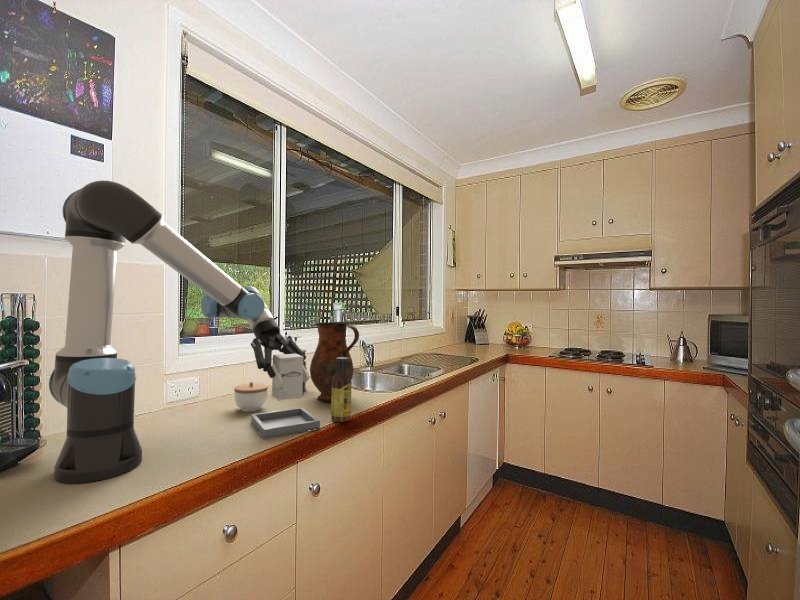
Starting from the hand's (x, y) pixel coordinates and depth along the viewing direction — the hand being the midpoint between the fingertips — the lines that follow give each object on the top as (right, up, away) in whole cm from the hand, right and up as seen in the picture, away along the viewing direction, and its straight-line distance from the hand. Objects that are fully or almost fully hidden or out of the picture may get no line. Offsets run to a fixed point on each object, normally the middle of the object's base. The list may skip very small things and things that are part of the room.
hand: (294, 382), depth 112 cm
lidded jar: (-20, -13, +18) cm, 30 cm away
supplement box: (-3, -5, +2) cm, 6 cm away
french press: (-13, -14, +45) cm, 49 cm away
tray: (-3, -13, +1) cm, 14 cm away
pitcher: (+7, -14, +32) cm, 35 cm away
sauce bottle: (+13, -14, +8) cm, 21 cm away
